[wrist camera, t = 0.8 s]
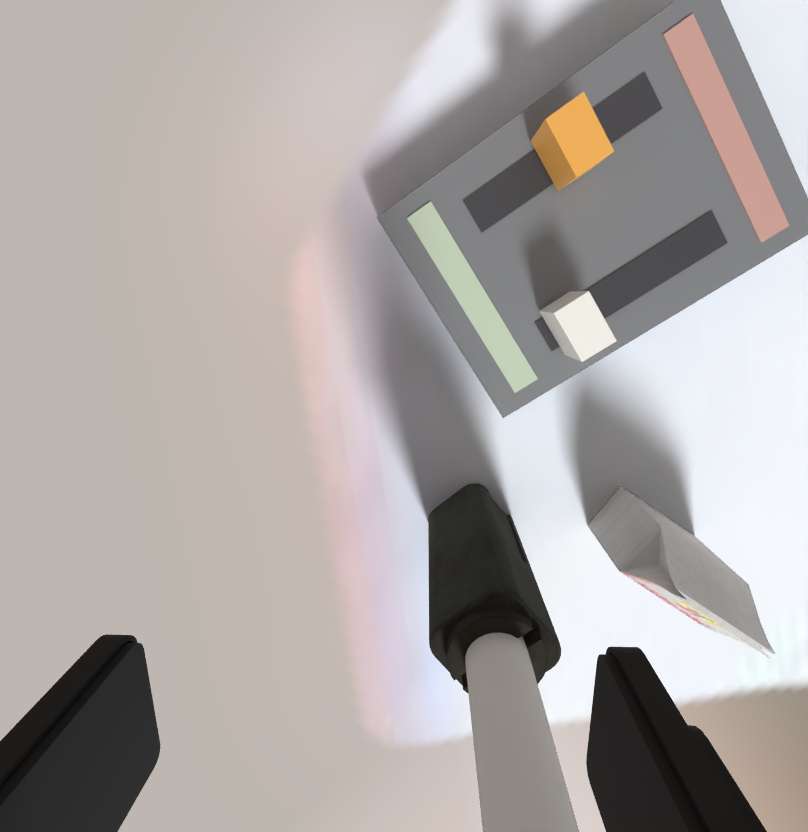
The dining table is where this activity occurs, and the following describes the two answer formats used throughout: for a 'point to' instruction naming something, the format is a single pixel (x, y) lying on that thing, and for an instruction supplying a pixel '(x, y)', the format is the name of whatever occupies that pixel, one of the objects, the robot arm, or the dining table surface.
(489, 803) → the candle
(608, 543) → the grey piece
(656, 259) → the breaker panel
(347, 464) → the dining table surface
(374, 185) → the dining table surface
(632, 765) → the robot arm
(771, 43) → the dining table surface
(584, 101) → the breaker handle
